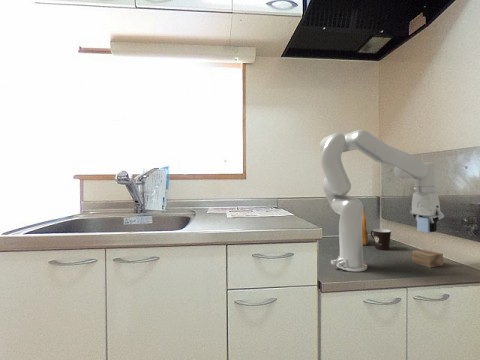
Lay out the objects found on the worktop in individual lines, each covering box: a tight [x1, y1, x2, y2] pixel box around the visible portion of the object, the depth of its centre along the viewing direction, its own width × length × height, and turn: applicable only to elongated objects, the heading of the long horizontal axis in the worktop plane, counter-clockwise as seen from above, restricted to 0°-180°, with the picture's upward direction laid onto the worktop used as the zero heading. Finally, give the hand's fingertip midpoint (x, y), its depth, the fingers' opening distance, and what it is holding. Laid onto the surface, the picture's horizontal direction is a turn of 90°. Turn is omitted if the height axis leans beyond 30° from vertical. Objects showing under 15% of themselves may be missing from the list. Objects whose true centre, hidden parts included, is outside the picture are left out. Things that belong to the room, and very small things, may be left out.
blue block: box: [416, 216, 434, 234], centre depth 117 cm, size 5×5×6 cm
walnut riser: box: [411, 248, 444, 268], centre depth 117 cm, size 8×8×5 cm
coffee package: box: [362, 206, 369, 246], centre depth 154 cm, size 10×12×22 cm
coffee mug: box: [370, 228, 392, 251], centre depth 144 cm, size 12×9×10 cm
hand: (426, 230), depth 117 cm, fingers closed on blue block, 5 cm apart
